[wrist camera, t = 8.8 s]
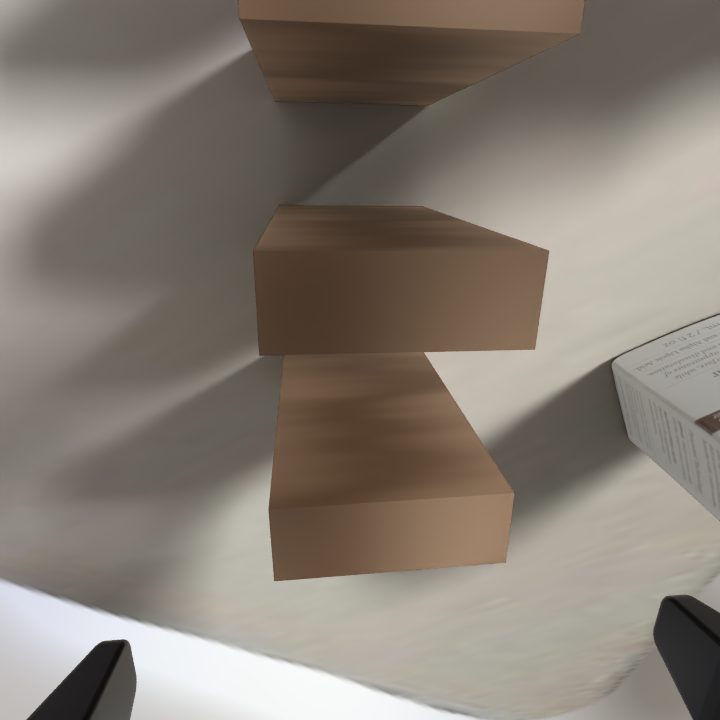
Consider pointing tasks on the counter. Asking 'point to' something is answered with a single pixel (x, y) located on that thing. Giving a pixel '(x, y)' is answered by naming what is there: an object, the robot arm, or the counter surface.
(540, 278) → the domino
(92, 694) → the robot arm
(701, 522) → the counter surface
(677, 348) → the skincare box
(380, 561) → the domino
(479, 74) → the domino
